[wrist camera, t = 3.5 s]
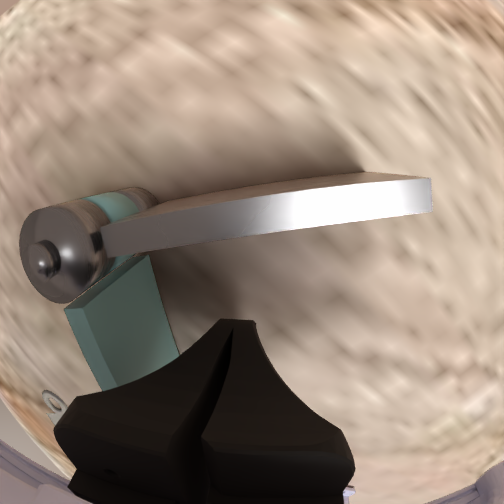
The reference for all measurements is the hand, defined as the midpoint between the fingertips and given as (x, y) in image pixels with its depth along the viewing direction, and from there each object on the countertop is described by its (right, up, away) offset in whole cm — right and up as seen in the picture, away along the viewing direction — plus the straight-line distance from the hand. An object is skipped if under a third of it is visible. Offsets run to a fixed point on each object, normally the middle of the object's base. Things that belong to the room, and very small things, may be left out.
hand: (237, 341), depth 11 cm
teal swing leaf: (-4, +1, +2) cm, 4 cm away
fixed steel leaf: (0, +5, 0) cm, 5 cm away
